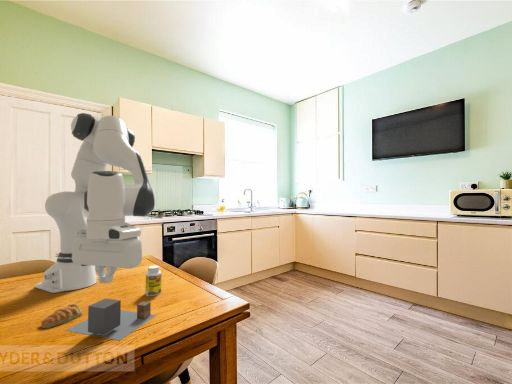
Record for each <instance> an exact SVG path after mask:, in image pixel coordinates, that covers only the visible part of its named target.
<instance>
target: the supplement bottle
mask: <svg viewBox="0 0 512 384" xmlns="http://www.w3.org/2000/svg"><path fill="white" fill-rule="evenodd" d="M162 273H163V272H162V271H161V270H160V265H150V266H148V267H147V272H146V273H145V290H144V292H145V296H147V297H154V296H158V295H161V294H162Z"/></svg>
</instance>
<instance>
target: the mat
mask: <svg viewBox="0 0 512 384" xmlns="http://www.w3.org/2000/svg"><path fill="white" fill-rule="evenodd" d="M156 316H157V314H152V313H150V316H149V317H147V318H146V319H138V318H137V311H129V310H123V309H121V313H120V325H119V326H118V327H116V328H114V329H113V330H112V331H111V332H109V333H108V334H106V335H98V334H96V333H90V332H88V318H87V319H85V320H84V321H82V322H80V323H77V324H76V325H74V326H72V327H70V328H67V329H66V330H65V332H66V331H67V332H72V333H78V334H82V335H88V336H93V337H99V338H103V339H111V340H114V341H115V340H116V341H122V340H123V339H124V338H126V337H127V336H128V335H130V334H132V333H133V332H134V331H136V330H138V329H139V328H141V327H142V326H143V325H145V324H146V323H148V322H150V321H151V320H152V319H153V318H155V317H156Z"/></svg>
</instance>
